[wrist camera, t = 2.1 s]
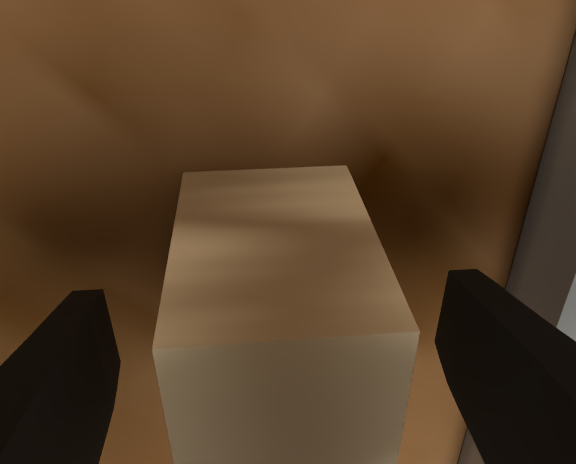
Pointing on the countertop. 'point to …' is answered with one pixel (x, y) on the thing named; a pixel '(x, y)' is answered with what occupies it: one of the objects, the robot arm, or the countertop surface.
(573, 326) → the tray
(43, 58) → the countertop surface
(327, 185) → the block
